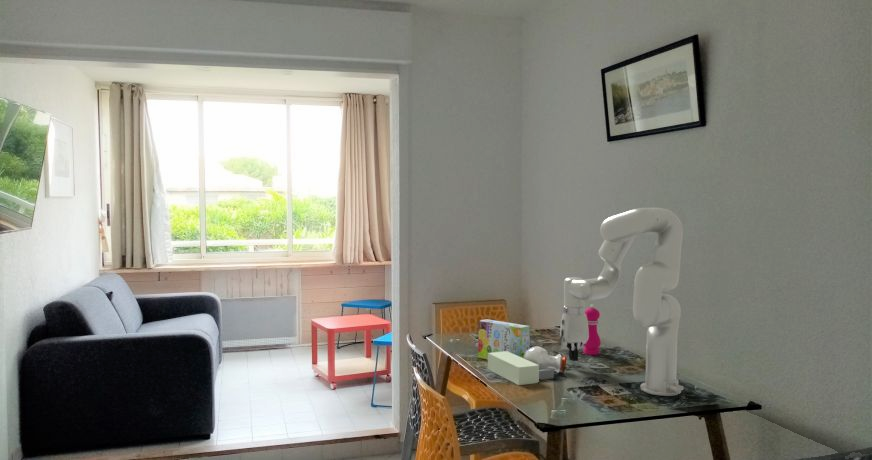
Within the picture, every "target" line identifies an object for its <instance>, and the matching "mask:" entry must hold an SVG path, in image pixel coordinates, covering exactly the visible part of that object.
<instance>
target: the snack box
mask: <svg viewBox="0 0 872 460" xmlns="http://www.w3.org/2000/svg"><path fill="white" fill-rule="evenodd" d="M530 328H531V326H530V325H526V324H524V325H523V324H518V323H513V322H507V321H501V320H500V321H499V320H493V319H480V320H478V345H477V347H478V351H477V352H478V353H477V354H478V355H477V358H479V359H483V360H487V361H488V353H493V352H503V351H508V352H510V353H512V354H515V355H517V356H519V357H521V358H523V357H524V355H525V353H526V351H527V350H528V349H530V340H531V339H530V336H531V335H530V334H531V333H530V332H531V329H530Z"/></svg>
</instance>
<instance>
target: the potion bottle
mask: <svg viewBox="0 0 872 460" xmlns="http://www.w3.org/2000/svg"><path fill="white" fill-rule="evenodd" d="M523 358H524V359H526V360H528V361H531V362H533V363H535V364H537V365H539V370H542V369H551V368H552V369H554V371H555V372H557V373H558V374H559V372H560V371H561V372H562V373H563V374H564V373H565V371H566V368H567V367H566V366H567V356H566V355H564V356H562V355H561V353H557V355H549V352H548V351H547V350H546V349H545V348H543V347H541V346H538V345H536V346H532V347H529V349H528V350H527V351H526V353H525V355H524V357H523Z"/></svg>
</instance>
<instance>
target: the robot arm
mask: <svg viewBox="0 0 872 460" xmlns="http://www.w3.org/2000/svg"><path fill="white" fill-rule="evenodd" d="M599 232H600V236H601V238H602V239H603V242H602V244H601V246H600V248H599V249H598V252H597V253H598V256H599V258H600V259H601V260H602V261H603V262H604V265H603V269H602V270H601V272H600V274H599V275H598V277H594V278H587V279H586V278H585V279H584V278H583V277H577V276H570V277H569V276H568V277H566V278H564V281H563V308H561V312H562V313H563V314H562V315H561V320H560V325H559V326H560V328H559V329H560V330H559V338H560V345H561V346H563V347H566V348H567V349H568V358H569V361H572V362H578V361H579V350H580V349H581V347H582V346H583V344H585V343H586V342H587V341H588V339H589V329H588V320H587V315H586V314H585V311H586V310H585V301H594V300H600V299H604V298H607V297H609V296H610V295H611V293H612V292H613V291H614V289H615V287H616V285H618V283H619V281H620V278H621V272H622V265H621V263H622V261H623V260H624V258H625V257H626V256H625V255H626V254H627V252H628V251H629V249H630V247H631V245H632V244H633V242H634V241H635V239H636V237H637V236H640V235H641V236H642V235H653V234H655V235H656V236H657V237H656V238H655V239H656V240H655V242H654V244H653V249H652V259H651V262H649V263H644V264H643V265H641V266H640V267H639V268H638V269H637V271H636V274H635V277H634V285H633V297H632V299H633V300H632V315H633V318H634V320H635V321H636V322H637V324H638V325H640V326H642V327H645V328H647V331H646V343H645V350H646V351H645V379H644V380H645V382H643V383H641V384H640V390H641V391H642V392H643V393H647V394H650V395H653V396H654V395H655V396H659V397H660V396H663V397H675V396H679V395H680V394H681V393H682V391H683V390H684V388H685V387H684V385H680V384H679V380H680V379H677V365H678V364H677V362H678V361H677V360H678V359H677V358H678V335H679V334H678V333H679V327H680V320H681V315H682V311H681V310H682V309H681V305H680V302H679V301H678V299H677V298H675V297H674V296H673V295H670V294H668V293H667V294H665V293H663V292H669V291H671V290H674V289H675V288H676V287H678V284H679V282H680V271H681V259H682V256H681V255H682V245H683V236H684V228H683V224H682V222H681V220H680V218H679V217H678V216H677V214H676V213H674V211H671V210H670V209H667V208H662V207H639V208H638V207H637V208H634V209H631V210H627V211H625V212H622V213H621V212H620V213H618V214H615V215H612V216H609V217H607V218H605V219H604V220H603V221H602V223H601V224H600V228H599ZM678 394H679V395H678Z"/></svg>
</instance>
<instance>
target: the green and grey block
mask: <svg viewBox="0 0 872 460" xmlns="http://www.w3.org/2000/svg"><path fill="white" fill-rule="evenodd" d="M487 370H489V371H490V372H493V374H496V375H497V376H500V377H502V378H504V379H506V380H508V381H509V382H511V383H513V384H516V385H517V386H522V385H533V384H539V383H540V380H539V379H541V380H549V379H554V377H555V376H554V375H555V369H554V368H546V369H542V370H539V365H537V364H535V363H533V362H531V361H528V360H526V359H524V358H521V357H519V356H517V355H515V354H512V353H510V352H508V351H503V352H493V353H488V360H487ZM538 382H539V383H538Z"/></svg>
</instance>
